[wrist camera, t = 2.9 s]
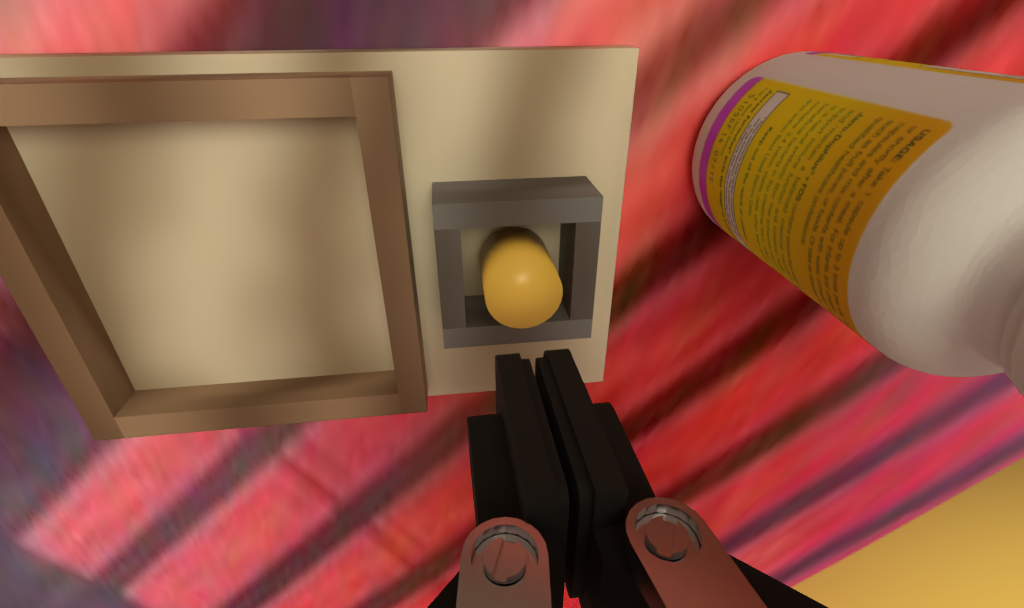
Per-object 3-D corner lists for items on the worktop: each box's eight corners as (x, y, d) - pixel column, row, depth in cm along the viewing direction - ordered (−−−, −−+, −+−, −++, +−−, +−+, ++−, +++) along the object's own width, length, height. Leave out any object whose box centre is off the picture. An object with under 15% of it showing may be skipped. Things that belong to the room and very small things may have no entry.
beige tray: (626, 45, 17) (666, 53, 14) (595, 364, 23) (617, 416, 20) (-53, 54, 15) (-175, 67, 12) (124, 402, 21) (74, 466, 18)
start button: (548, 225, 17) (564, 257, 15) (546, 287, 19) (561, 325, 16) (477, 228, 17) (483, 262, 15) (480, 291, 18) (486, 331, 16)
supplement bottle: (697, 253, 21) (983, 527, 10) (671, 91, 18) (1057, 236, 7) (857, 195, 21) (1337, 416, 10) (862, 18, 17) (1613, 43, 6)
